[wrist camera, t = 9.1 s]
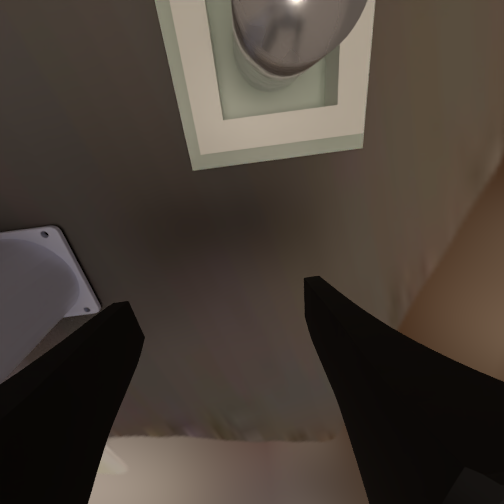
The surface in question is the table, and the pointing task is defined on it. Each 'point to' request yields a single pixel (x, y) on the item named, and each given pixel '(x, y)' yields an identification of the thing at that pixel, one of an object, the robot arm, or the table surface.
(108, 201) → the table surface
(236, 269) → the table surface
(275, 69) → the grey cylinder
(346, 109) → the socket
